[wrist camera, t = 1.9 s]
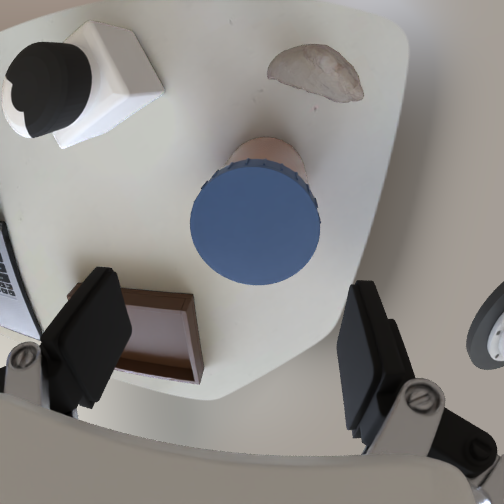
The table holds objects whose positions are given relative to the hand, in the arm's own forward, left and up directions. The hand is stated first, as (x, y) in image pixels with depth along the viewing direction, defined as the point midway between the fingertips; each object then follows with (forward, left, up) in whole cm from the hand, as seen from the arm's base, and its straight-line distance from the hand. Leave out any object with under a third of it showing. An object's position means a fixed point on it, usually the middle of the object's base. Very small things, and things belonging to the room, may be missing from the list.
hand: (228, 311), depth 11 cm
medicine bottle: (+13, -9, -18) cm, 24 cm away
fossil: (-4, -9, -18) cm, 20 cm away
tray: (+15, +19, -18) cm, 30 cm away
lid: (0, 0, -7) cm, 7 cm away
